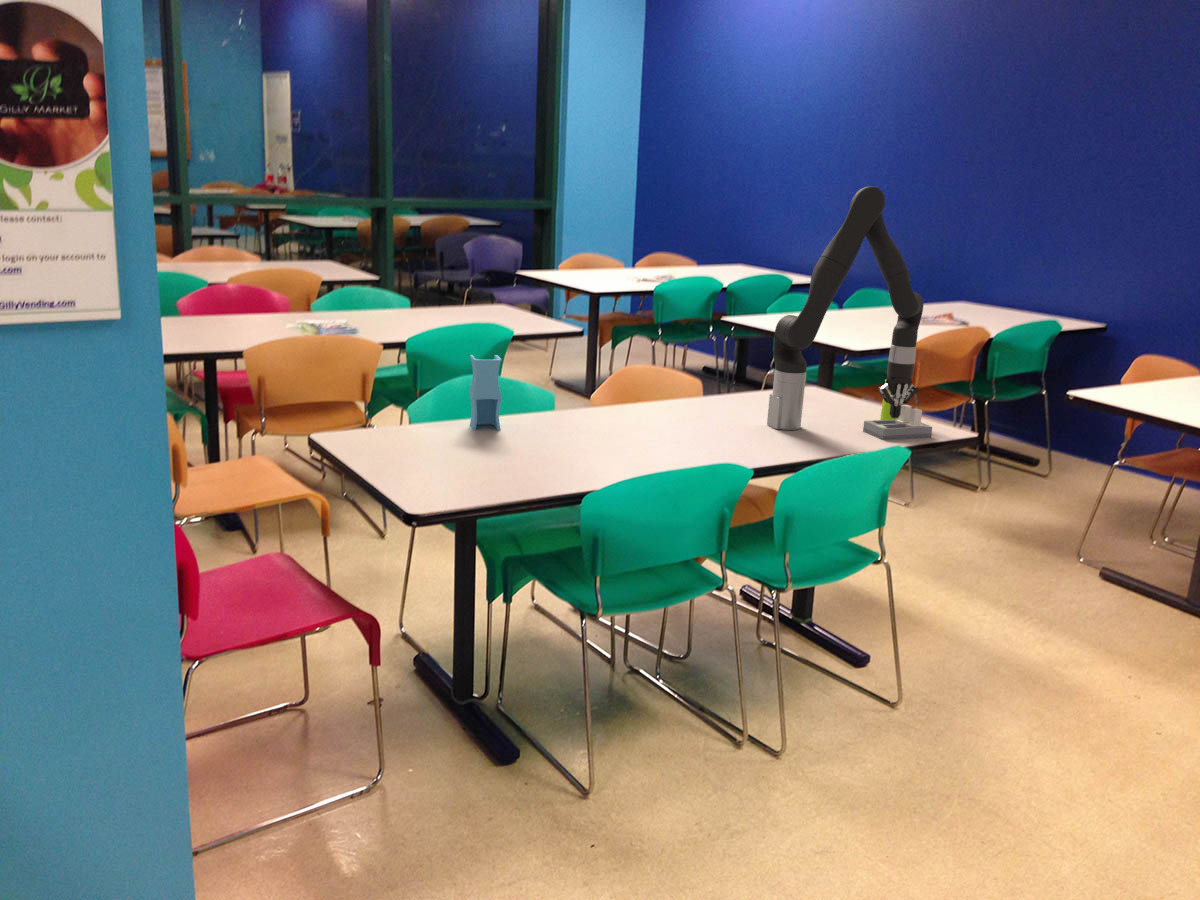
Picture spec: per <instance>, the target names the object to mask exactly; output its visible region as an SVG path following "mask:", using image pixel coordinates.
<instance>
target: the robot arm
mask: <svg viewBox="0 0 1200 900" xmlns="http://www.w3.org/2000/svg"><path fill="white" fill-rule="evenodd" d="M885 207H886V198H885V193H884V192H883V190H882V189H880V188H879V187H877V186H874V185H868V186H865V187H862V188H860V189H859V190H858V191H856V193H855V194H854V196H853V197H852V199H851V200H850V203H849V210H848V213H847V215H846V217H845V219H844V221H843V223H842V225H841V226H840V228H839V229H838V230H837V232H836V234H835V235H834V236H833V237H832V239H830V242H829V243H828V245H826V247H825V248H824V250H823V252H822V253H821V255H820V257H819V259H818V261H817V262H816V264H815V265H814V268H813V270H812V272H811V277H810V283H809V292H808V295H807V296H808V297H807V299H806V301H805V303H804V306H803V308H802V310H801V311H800V313H799V314H798V315H792V314H786V315H784V316H783V317H781V318H780V319H779V320H778V322H777V323H776V326H775V330H774V337H773V338H774V339H773V360H774V366H775V367H774V376H773V384H772V385H773V386H772V393H770V394H769V399H768V410H767V421H766V426H767V425H768V426H770V427H771V428H773V429H775V430H783V431H795V430H799V429H801V427H802V416H803V408H804V407H803V406H804V396H805V389H806V388H805V387H806V381H807V379H806V378H807V369H808V364H807V361H806V359H805V358H804V356H803V353H802V352H803V350H805V349H808V347H809V346H811V345H812V343H813V342H814V340H815V338H816V336H817V335H818V333H819V330H820V327H821V326H822V322H823V320H824V318H825V316H826V313H827V312H828V311H829V307H830V305H831V304H832V302H833V300H834V298H835V296H836V295H837V293H838V290H839V289H840V288H841V286H842V284H843V282H844V281H845V279H846V277H847V275H848V273H849V272H850V269H851V268H852V266H853V264H854V262H855V259H856V257H857V255H858V253H859V251H860V248H861V246H862V243H863V241H864V240H865V238H866V240H867V241H868V244H869V245H870V248H871V250H872V253H873V255H874V257H875V260H876V262H877V265H878V268H879V269H880V272H881V274H882V277H883V279H884V281H885V284H886V285H887V286H886V287H887V289H888V293H889V298H890V302H891V305H892V308H893V310H894V312H895V313H896V314H897V315H898V316H897V321H896V324H895V326H894V327H893V330H892V336H891V337H892V338H891V343H890V344H891V345H890V348H889V355H888V361H887V362H888V363H887V369H886V375H887V377H886V379H887V380H886V379H885V380H886V384H885V383H884V384H883V385H882V386H878V388H877V390H878V392H879V393H880V395H881V397H882V400H883V399H884V400H885V402H886V403H889V404H890V416H891V417H892V418H899V416H900V412H901V406H902V405H908V403H909V402H910V401H911V399H912V398H913V396H915V394H916V393H917V392H918V390H919V388H918V386H915V385H914V384H913V379H912V378H913V377H914V371H915V364H916V355H917V343H918V331H919V328H920V323H921V321H922V316H923V310H924V299H923V297H922V295H920V294H919V293H918V292H915V291H914V290H913V287H912V285H911V283H910V281H911V274H910V271H909V269H908V266H907V265H906V261H905V260H904V257H903V255H902V253H901V251H900V250H899V248H898V246H897V245H896V243H895V242H894V241H893V238H892V237H891V236H890V233H889V231H888V229H887V226H886V224H885V221H884V218H883V217H884V216H883V212H884V210H885ZM888 392H889V393H888Z"/></svg>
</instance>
